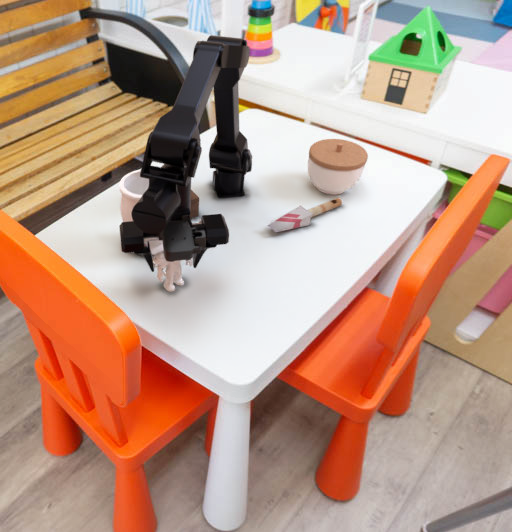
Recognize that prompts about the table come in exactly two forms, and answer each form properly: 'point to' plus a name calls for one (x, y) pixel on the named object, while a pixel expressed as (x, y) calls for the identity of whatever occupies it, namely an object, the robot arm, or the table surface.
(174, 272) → the pink action figure
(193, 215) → the toy block
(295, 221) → the garden trowel
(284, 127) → the table surface
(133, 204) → the jar
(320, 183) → the lidded bowl
